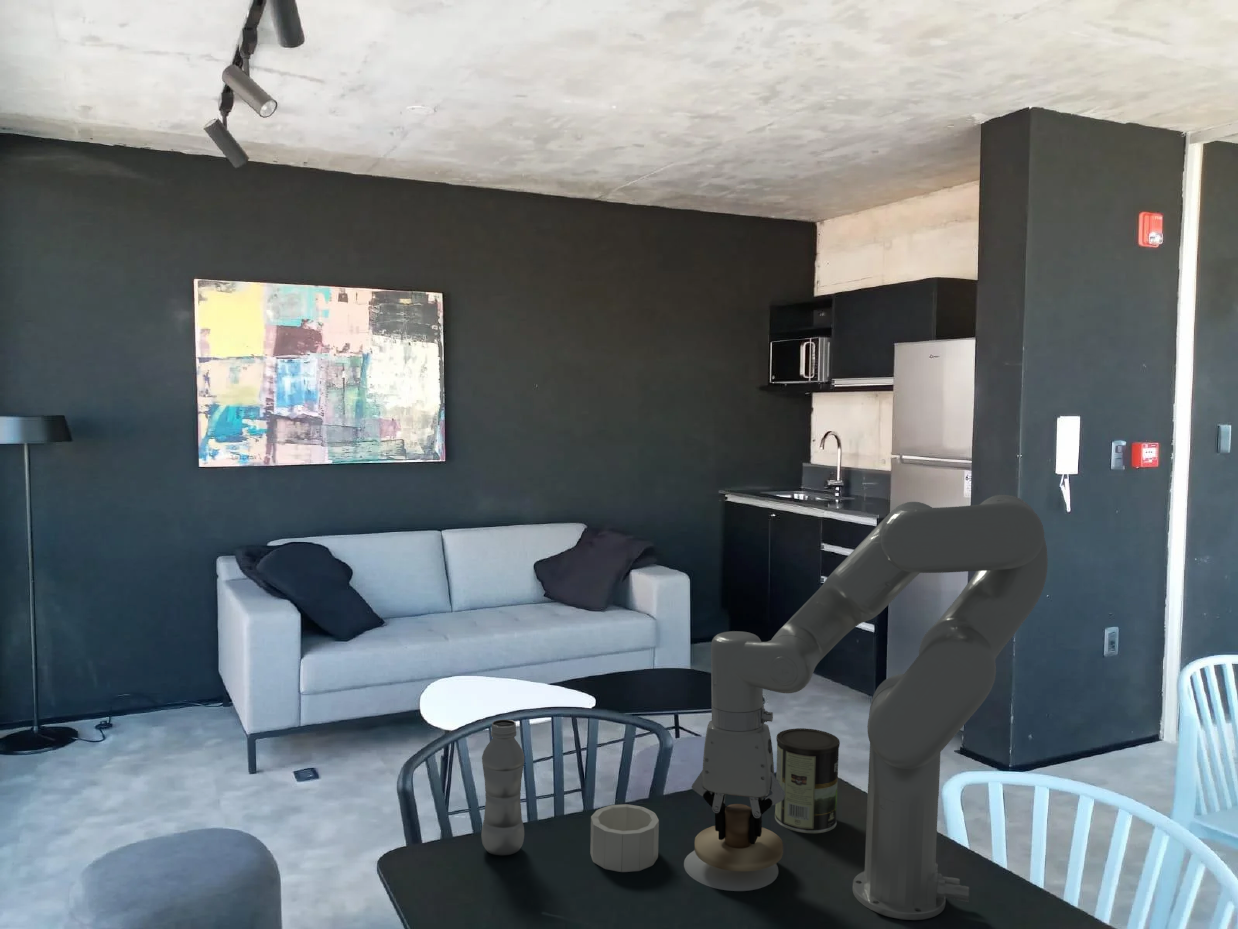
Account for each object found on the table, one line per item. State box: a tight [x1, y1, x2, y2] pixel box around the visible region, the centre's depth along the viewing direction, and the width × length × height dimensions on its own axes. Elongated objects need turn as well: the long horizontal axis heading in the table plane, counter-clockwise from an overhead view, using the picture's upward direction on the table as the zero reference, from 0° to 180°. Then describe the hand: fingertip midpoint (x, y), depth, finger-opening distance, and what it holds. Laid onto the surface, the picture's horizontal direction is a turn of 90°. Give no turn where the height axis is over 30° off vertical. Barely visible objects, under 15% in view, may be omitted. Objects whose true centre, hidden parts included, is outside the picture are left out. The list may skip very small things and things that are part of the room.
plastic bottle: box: [480, 718, 525, 856], centre depth 146 cm, size 6×7×20 cm
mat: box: [683, 849, 779, 892], centre depth 143 cm, size 14×14×1 cm
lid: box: [694, 803, 784, 871], centre depth 142 cm, size 13×13×6 cm
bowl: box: [589, 803, 660, 873], centre depth 145 cm, size 10×10×6 cm
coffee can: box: [774, 727, 841, 834], centre depth 159 cm, size 10×10×14 cm
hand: (738, 837), depth 142 cm, fingers closed on lid, 4 cm apart
